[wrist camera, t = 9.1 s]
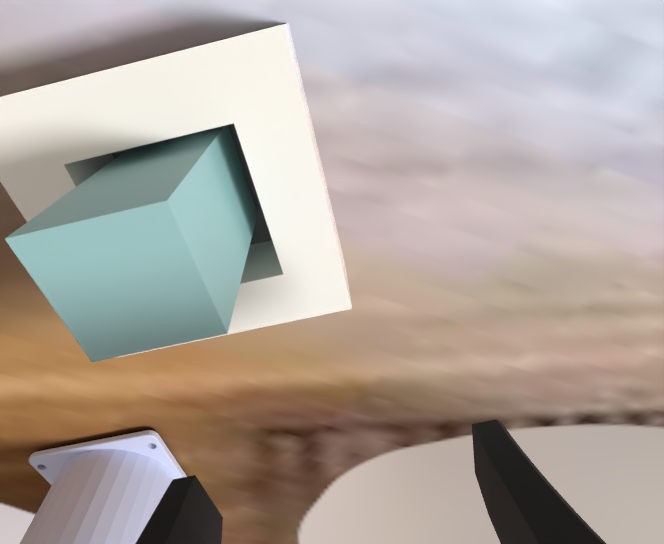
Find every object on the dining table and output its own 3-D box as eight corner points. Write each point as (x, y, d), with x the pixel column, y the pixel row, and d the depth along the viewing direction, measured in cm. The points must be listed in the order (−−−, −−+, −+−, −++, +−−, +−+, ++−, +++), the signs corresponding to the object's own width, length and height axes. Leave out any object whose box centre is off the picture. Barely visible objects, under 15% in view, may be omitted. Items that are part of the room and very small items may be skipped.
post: (257, 212, 18) (227, 333, 11) (173, 232, 18) (91, 362, 11) (227, 122, 16) (166, 200, 9) (132, 145, 16) (4, 238, 9)
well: (345, 264, 20) (351, 308, 17) (144, 307, 20) (115, 357, 17) (288, 23, 15) (283, 24, 12) (22, 91, 15) (-48, 108, 12)
